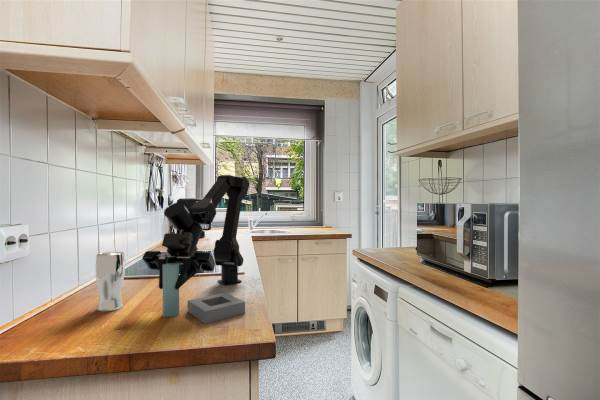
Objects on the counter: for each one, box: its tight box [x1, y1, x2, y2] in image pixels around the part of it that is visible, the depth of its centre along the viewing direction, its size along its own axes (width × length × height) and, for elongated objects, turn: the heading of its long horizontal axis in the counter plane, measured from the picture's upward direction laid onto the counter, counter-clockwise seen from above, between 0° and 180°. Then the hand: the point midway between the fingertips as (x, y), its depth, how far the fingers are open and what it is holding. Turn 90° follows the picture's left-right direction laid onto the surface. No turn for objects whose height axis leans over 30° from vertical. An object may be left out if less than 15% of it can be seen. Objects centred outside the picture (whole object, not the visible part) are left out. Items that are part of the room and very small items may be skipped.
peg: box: [162, 263, 180, 318], centre depth 83 cm, size 4×4×13 cm
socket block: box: [187, 292, 246, 325], centre depth 84 cm, size 11×11×3 cm
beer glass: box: [95, 251, 126, 313], centre depth 88 cm, size 7×7×15 cm
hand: (168, 288), depth 82 cm, fingers closed on peg, 4 cm apart
